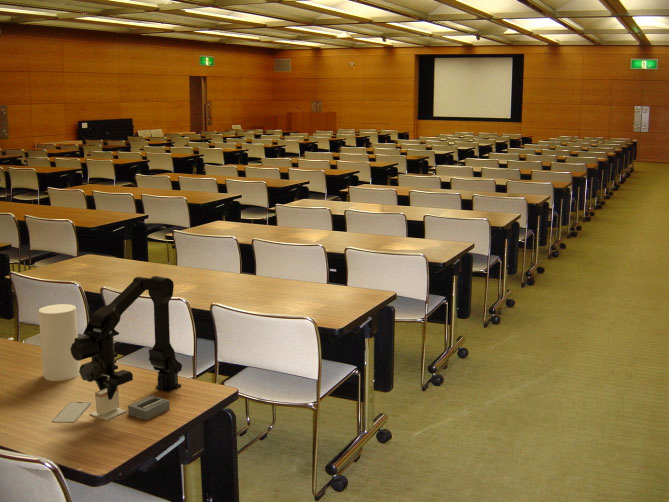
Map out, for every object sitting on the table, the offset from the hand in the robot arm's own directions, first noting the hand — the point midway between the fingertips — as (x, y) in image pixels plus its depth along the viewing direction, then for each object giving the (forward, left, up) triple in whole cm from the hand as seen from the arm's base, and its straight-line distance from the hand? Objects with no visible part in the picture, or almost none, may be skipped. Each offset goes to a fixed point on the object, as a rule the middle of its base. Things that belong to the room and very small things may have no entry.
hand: (107, 398), depth 223 cm
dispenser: (-8, +10, -5) cm, 14 cm away
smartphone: (+6, -10, -6) cm, 13 cm away
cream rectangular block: (0, 0, -4) cm, 4 cm away
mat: (0, 0, -5) cm, 5 cm away
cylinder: (-13, -41, -5) cm, 43 cm away
